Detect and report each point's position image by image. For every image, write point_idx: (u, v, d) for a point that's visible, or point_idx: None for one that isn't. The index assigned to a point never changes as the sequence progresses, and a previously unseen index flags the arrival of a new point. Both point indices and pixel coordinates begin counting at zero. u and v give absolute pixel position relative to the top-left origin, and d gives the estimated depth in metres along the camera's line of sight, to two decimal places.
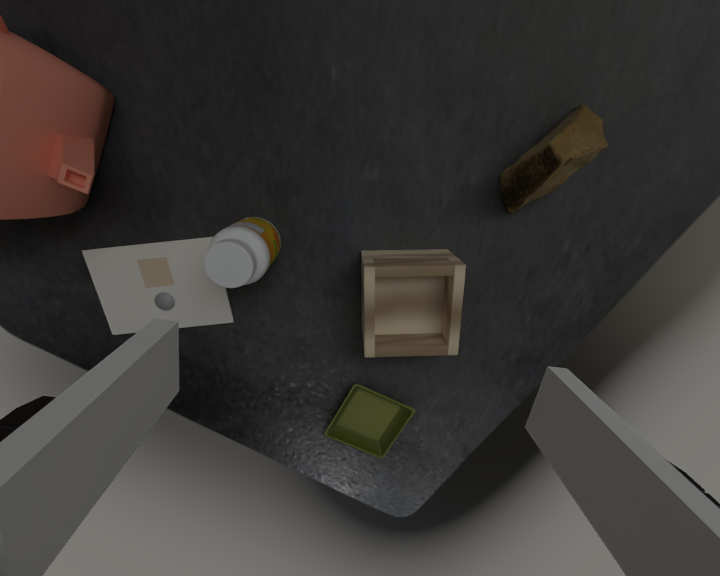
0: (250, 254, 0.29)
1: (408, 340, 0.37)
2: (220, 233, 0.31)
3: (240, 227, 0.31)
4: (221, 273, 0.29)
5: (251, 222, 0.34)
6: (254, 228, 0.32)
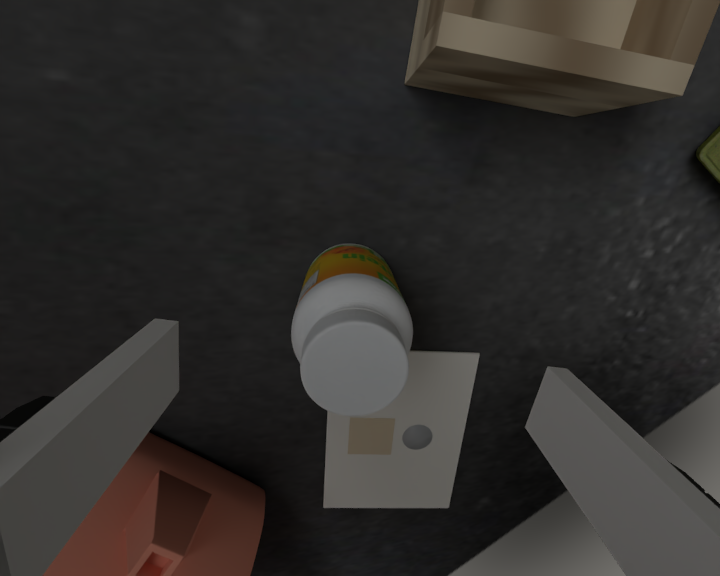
0: (339, 319, 0.12)
1: None
2: (298, 357, 0.15)
3: (293, 317, 0.15)
4: (369, 389, 0.13)
5: None
6: (305, 289, 0.16)
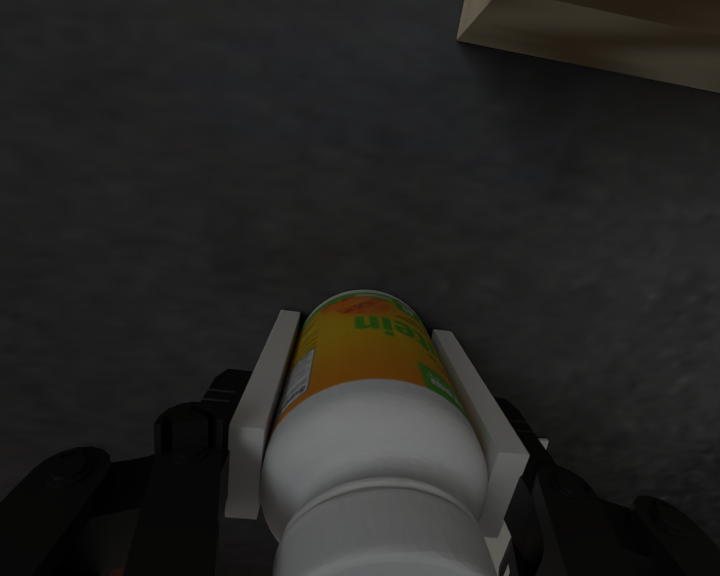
0: (353, 537, 0.05)
1: None
2: (272, 533, 0.08)
3: (264, 459, 0.08)
4: None
5: (287, 377, 0.11)
6: (289, 395, 0.09)
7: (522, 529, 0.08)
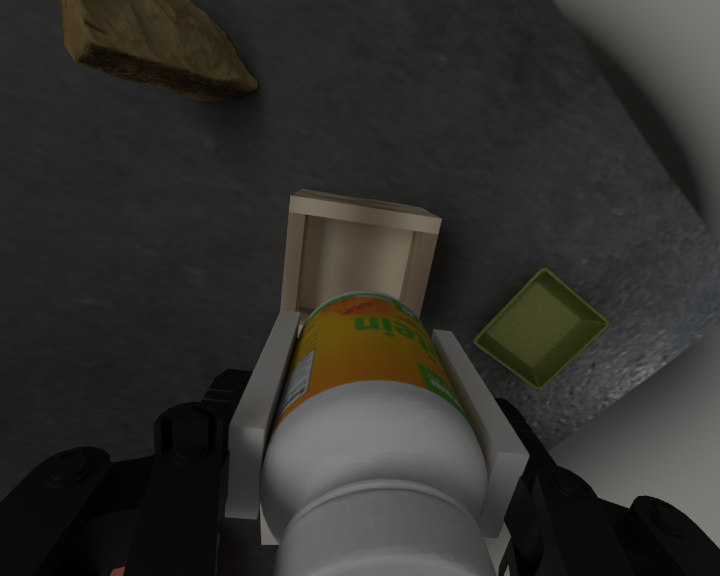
0: (353, 539, 0.05)
1: (407, 281, 0.25)
2: (272, 534, 0.08)
3: (264, 460, 0.08)
4: None
5: (286, 378, 0.11)
6: (289, 396, 0.09)
7: (522, 529, 0.08)
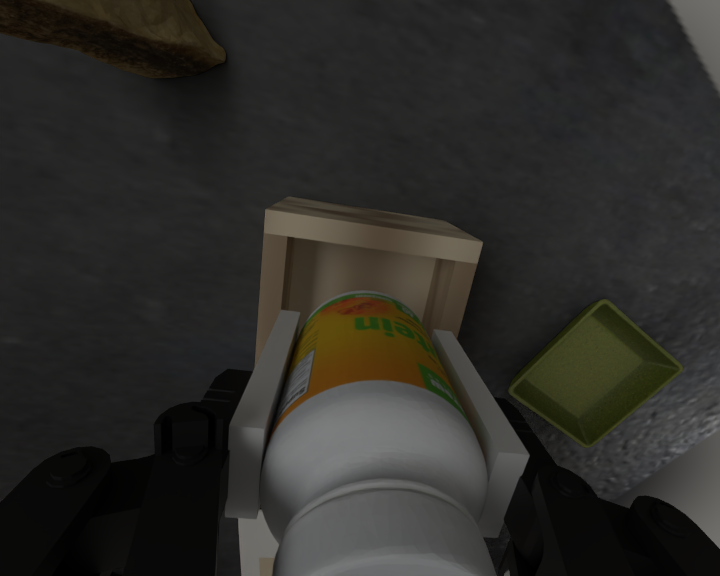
0: (353, 539, 0.05)
1: (429, 324, 0.19)
2: (272, 534, 0.08)
3: (264, 460, 0.08)
4: None
5: (286, 378, 0.11)
6: (289, 396, 0.09)
7: (522, 529, 0.08)
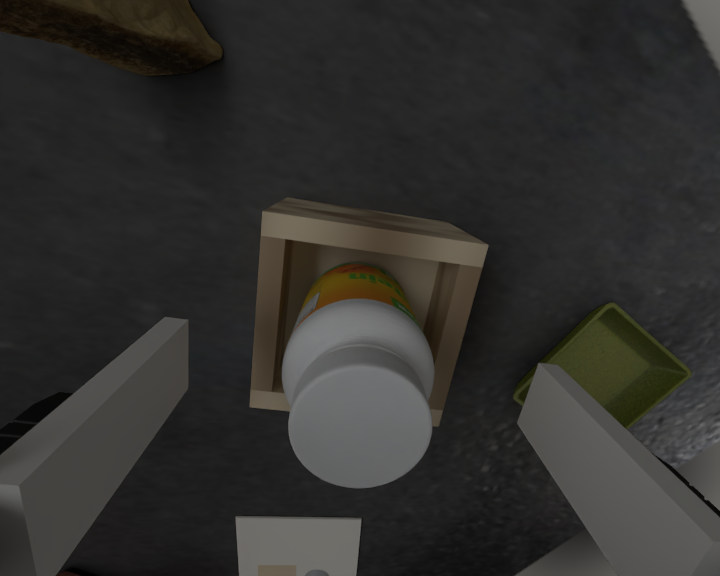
0: (341, 361, 0.09)
1: (432, 329, 0.18)
2: (289, 402, 0.12)
3: (285, 351, 0.12)
4: (379, 454, 0.10)
5: (299, 315, 0.15)
6: (302, 316, 0.13)
7: None
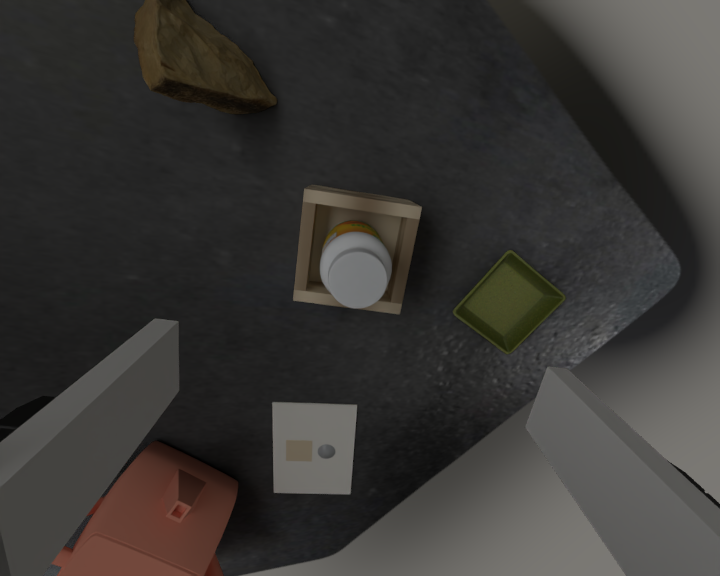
0: (351, 251, 0.23)
1: (396, 258, 0.32)
2: (323, 279, 0.26)
3: (322, 255, 0.26)
4: (365, 292, 0.24)
5: (324, 244, 0.29)
6: (329, 241, 0.27)
7: None
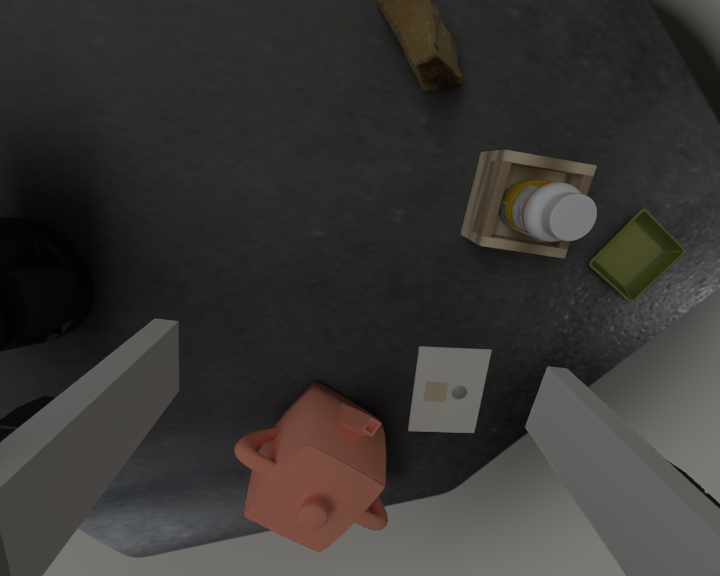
0: (571, 193, 0.29)
1: None
2: (530, 220, 0.32)
3: (530, 201, 0.32)
4: (577, 227, 0.30)
5: (516, 195, 0.35)
6: (530, 191, 0.33)
7: None
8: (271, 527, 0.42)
